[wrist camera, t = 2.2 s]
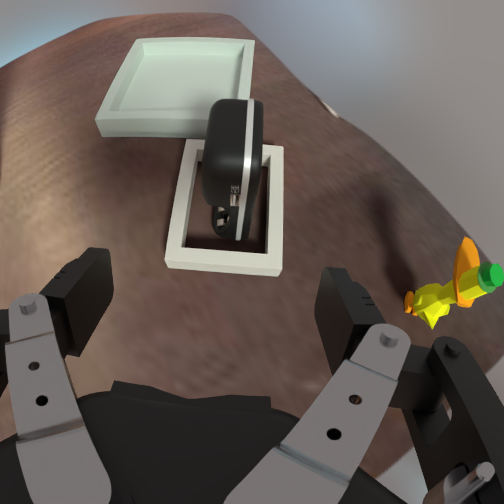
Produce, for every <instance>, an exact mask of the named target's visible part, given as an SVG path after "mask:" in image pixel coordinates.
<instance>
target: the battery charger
mask: <svg viewBox="0 0 504 504" xmlns="http://www.w3.org/2000/svg"><path fill="white" fill-rule="evenodd" d="M262 152H263V103H262V102H261V101H255V100H254V99H248V100H242V99H220V100H218V101H216V102H215V103H214V104H213V105H212V107H211V109H210V113H209V119H208V125H207V131H206V137H205V144H204V150H203V157H202V194H203V196H204V199H205V201H206V202H207V203H208V204H209V205H212V206H215V210H214V220H213V226H214V231H215V232H216V234H217V235H219V236H221V237H224V238H228V239H236V240H240V239H241V240H245V239H247V238H248V235H249V230H250V225H251V220H252V215H253V210H254V206H255V201H256V196H257V191H258V186H259V180H260V175H261V167H262Z"/></svg>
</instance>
